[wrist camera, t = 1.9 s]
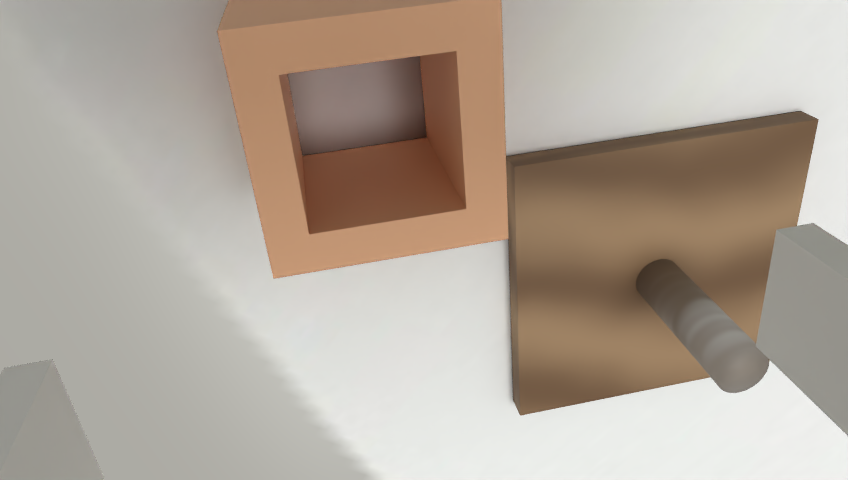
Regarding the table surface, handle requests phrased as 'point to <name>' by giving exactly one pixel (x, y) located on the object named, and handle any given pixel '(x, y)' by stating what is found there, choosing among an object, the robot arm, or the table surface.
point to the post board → (648, 257)
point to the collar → (379, 164)
